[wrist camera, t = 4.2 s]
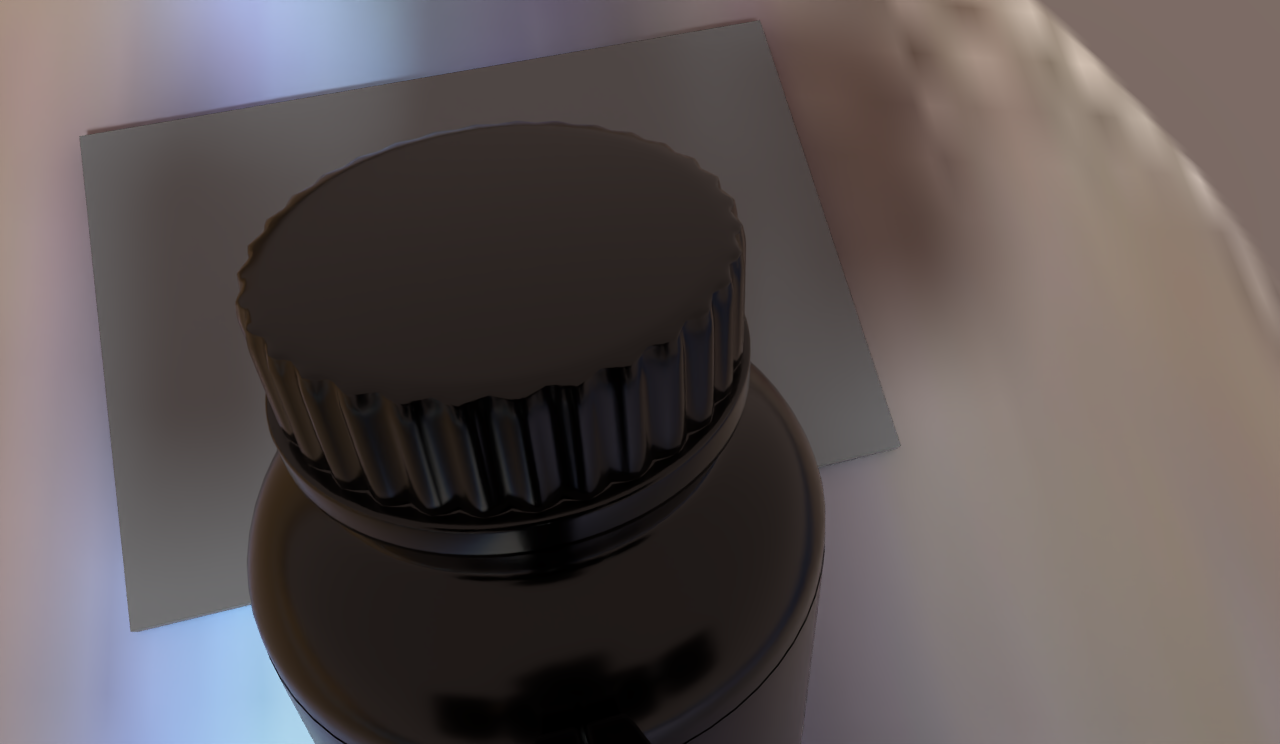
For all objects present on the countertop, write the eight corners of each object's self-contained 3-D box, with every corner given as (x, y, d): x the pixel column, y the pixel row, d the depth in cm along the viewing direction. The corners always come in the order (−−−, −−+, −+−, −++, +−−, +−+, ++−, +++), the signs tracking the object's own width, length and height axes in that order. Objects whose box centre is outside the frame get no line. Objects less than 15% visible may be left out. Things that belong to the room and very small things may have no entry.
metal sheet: (896, 448, 21) (900, 445, 21) (137, 632, 19) (130, 631, 18) (757, 27, 24) (760, 20, 24) (85, 143, 22) (79, 136, 21)
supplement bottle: (871, 812, 17) (1028, 229, 9) (566, 1154, 13) (355, 730, 5) (611, 577, 20) (551, 25, 12) (325, 797, 17) (-4, 239, 9)
